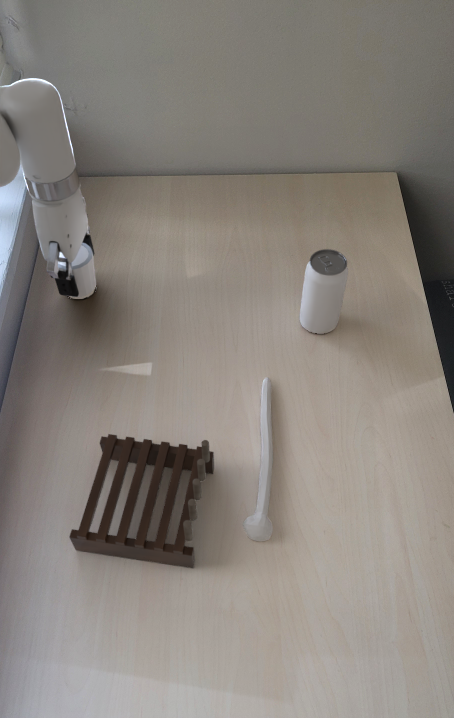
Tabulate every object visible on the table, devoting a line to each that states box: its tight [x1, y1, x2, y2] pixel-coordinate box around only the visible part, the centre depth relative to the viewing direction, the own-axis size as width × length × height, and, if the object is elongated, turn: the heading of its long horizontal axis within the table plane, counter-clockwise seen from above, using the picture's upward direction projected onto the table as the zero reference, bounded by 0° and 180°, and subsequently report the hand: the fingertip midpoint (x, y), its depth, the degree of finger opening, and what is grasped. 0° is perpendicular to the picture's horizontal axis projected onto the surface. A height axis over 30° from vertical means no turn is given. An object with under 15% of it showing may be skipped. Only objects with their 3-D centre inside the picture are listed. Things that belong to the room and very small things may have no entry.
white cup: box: [58, 242, 97, 297], centre depth 106 cm, size 7×7×7 cm
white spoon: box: [242, 377, 274, 542], centre depth 91 cm, size 28×4×3 cm, turn 178°
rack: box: [68, 433, 215, 569], centre depth 85 cm, size 16×16×9 cm
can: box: [298, 248, 349, 335], centre depth 100 cm, size 6×6×12 cm
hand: (77, 274), depth 107 cm, fingers open, 9 cm apart
